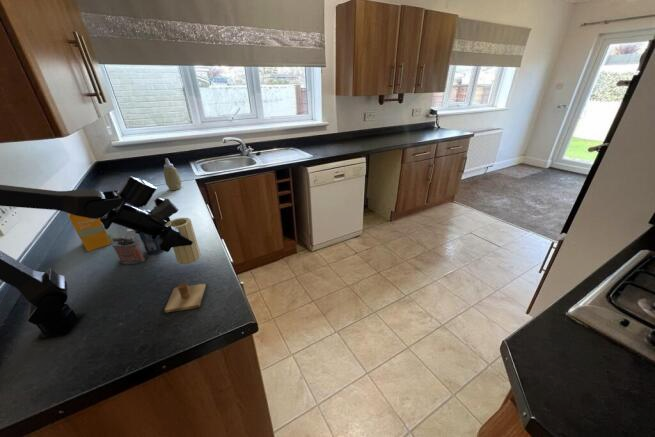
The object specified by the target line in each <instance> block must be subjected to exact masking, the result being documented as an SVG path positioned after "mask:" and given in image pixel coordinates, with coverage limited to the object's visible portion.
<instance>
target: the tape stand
mask: <svg viewBox="0 0 655 437" xmlns="http://www.w3.org/2000/svg"><path fill="white" fill-rule="evenodd" d="M206 287H207V284H206V283H199V284H192V285H188V284H187V283H186V282H181V283H179V284H178V285H177V287H173V290H172V291H171V295H170V296H169V298H168V301H167V303H166V305H165V308H164V313H165V314H166V313H172V312H179V311H184V310H191V309H199V308H201V304H202V301H203V298H204V294H205V291H206Z"/></svg>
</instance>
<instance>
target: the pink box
mask: <svg viewBox="0 0 655 437" xmlns="http://www.w3.org/2000/svg"><path fill="white" fill-rule="evenodd" d="M111 240H112V242H113V243H111V246H112V247H113V248H114V250H115V252H116V255H117V257H118V259H119V262H120V264H121V265H122V264H124V265H126V264H127V265H132V264H141V263H143V262H144V261H145V260H146V258H145V256H143V253H142V250H141V248H140V245H139V242H138V240H133V237H132V236H127V235H122V236H114V237H112V238H111Z"/></svg>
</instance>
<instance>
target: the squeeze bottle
mask: <svg viewBox="0 0 655 437" xmlns="http://www.w3.org/2000/svg"><path fill="white" fill-rule="evenodd" d="M164 161H165V163H164V165H163V167H164V169H163V175H164V180H165V185H166V187H167V188H168V190H170V191H177V190H180V189H181V188H182V180H181V177H180V175H179V173H178V170H177V168H176V167H174V164H173V163H171V162H170V160H169V158H167V157H166V158H165V159H164Z"/></svg>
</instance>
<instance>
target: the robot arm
mask: <svg viewBox="0 0 655 437" xmlns="http://www.w3.org/2000/svg"><path fill="white" fill-rule="evenodd" d="M157 189H158V187H156V186H155V185H154V184H152V183H150V182H149V181H146V180H144V179H143V178H142V179H141V178H138V177H133V176H132V175H129V176H128V177H127V178H126V180H125V182H124V184H123V185H122V187H121V188H120V190H118V189H117V190H107V191H100V190H97V189H72V190H71V189H70V190H52V189H42V188H33V187H26V186H25V187H24V186H16V185H8V184H7V185H6V184H0V207H10V208H23V209H36V210H48V211H49V210H50V211H58V212H64V213H67V214H68V213H70V214H73V215H76V216H81V217H87V218H92V219H97V218H99V219H100V221H101V223H102V225H103V227H104V229H105V230H109V228H110V227H111V225H112V224H115V225H118V226H121V227H124V228H127V229H130V230H133V231H134V233H135V234H138V235H139V234H140V233H144V234H147V235H150V237H151V238H152V239H155V238H156V237H157V236H159V238H158V239H157V244H158V246H159V248H160V249H161V250H163V251H162V252H166V253H168V252H170V251H171V249H173V247H178V246H187V245H192V243H193V242H192V241H191V240H189V239H188V238H186V237H184V236H182V235H181V234H180V231H179V230H178V228H177V227H176V228H174V227H172V226H169V227H167V226H166V223H168V222H169V221H171V216H173V215H174V214H176V213H178V211H179V208H178V207H177V206H176V205H175V204H174V203H173V202H172V201H171V200H170V199H169V198H161V197H157V198H155V199H154V200H153V201H154V206H153V208H152V209H151V210H150V209H148V208H147V209H139V208H143V207H146V206H147V205H148V203H149V201H150V200H151V198H152V197H153V195H154V194H155V193H156V191H157ZM0 281H1V282H3V283H5V284H7V285H9V286H11V287H13V288H15V289H16V290H17V291H18V292H19V293H20V295H21V296H22V297H23V298H24V300H25V301H27V302H28V303H29V310H28V316H27V322H29V323H31V324H32V325H35V326H36V327H37V328H38V329H39V331H40V332H41V333H39V335H38V336H37V339H38V340H43V339H51V338H56V337H62V336H67V335H68V334H69V333H70V332H71V331H72V329H73V328H74V327H75V326H76V324H77V323H78V321H80V319H81V317H82V314H76V312H75V311H74V309H73V308H71V307H70V306H69V304H68V303H67V301H68V283H67V281H66V276H65V275H61V274H58V273H57V271H55V270H54V269H52V268H48V269H47V270H46V271H44V272H43V271H37V270H34V269H32V268H30V267H29V266H27V265H26V264H24V263H22V262H20V261H19V260H18V259H15V258H14V257H12V256H10V255H8V253H6V252H3V251H2V250H0Z"/></svg>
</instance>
